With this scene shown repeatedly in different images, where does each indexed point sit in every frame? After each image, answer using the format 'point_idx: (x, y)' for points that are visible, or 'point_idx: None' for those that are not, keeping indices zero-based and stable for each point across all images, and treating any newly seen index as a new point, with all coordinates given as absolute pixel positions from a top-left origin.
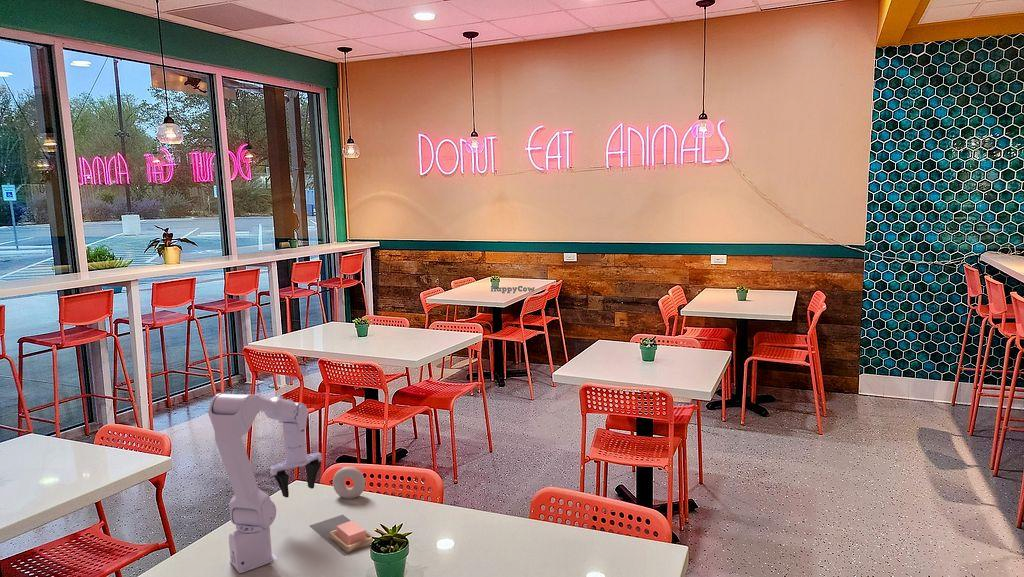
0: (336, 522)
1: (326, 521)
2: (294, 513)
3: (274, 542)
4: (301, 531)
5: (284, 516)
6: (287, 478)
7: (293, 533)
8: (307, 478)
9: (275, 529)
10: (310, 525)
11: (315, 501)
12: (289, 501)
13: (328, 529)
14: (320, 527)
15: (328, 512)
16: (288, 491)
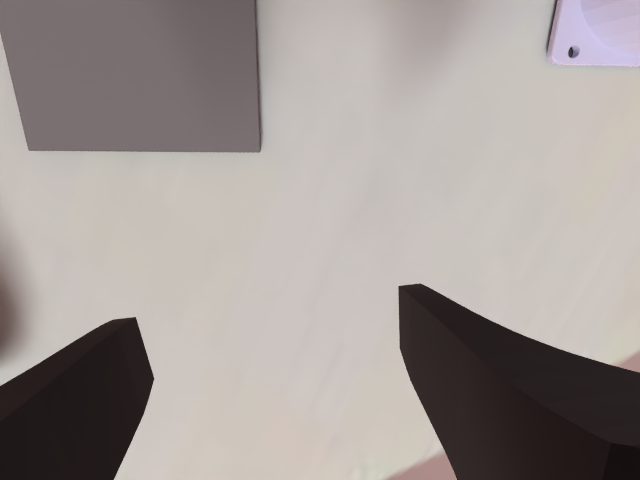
0: (98, 66)
1: (151, 130)
2: (260, 358)
3: (476, 116)
4: (312, 138)
5: (311, 357)
6: (575, 407)
7: (356, 147)
8: (116, 462)
9: (403, 257)
10: (252, 149)
11: None
12: (234, 475)
13: (176, 2)
14: (211, 74)
15: (103, 259)
16: (422, 303)
